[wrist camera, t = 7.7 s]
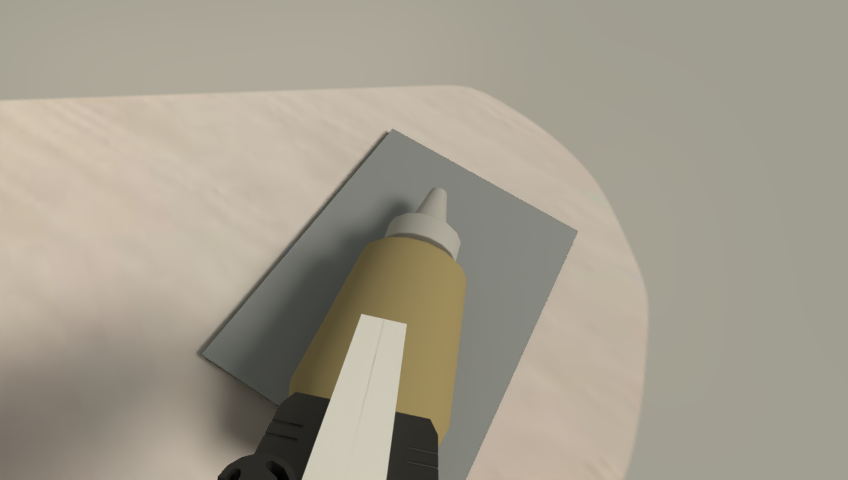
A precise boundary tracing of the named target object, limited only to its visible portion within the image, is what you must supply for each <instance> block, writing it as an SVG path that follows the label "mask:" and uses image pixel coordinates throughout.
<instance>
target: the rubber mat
mask: <svg viewBox="0 0 848 480" xmlns="http://www.w3.org/2000/svg"><path fill="white" fill-rule="evenodd" d="M437 187H438V188H441V189H443V190H445V191H446V193H447V213H446V223H447V224H448V225H449V226H450V227H451V228H452V229H453V230H454V231H455V232H456V233H457V234H458V237H459V239H460V242H461V243H460V247H459V251H458V255H457V259H456V262H457V263H458V264H459V265H460V266H461V267H462V269H463V272H464V274H465V276H466V279H467V284H466V293H465V301H464V309H463V317H462V326H461V334H460V342H459V350H458V359H457V367H456V375H455V383H454V392H453V400H452V408H451V416H450V425H449V429H448V431H447V433H446V434H445V436H444V438H443V440H442V442H441V443H440V445H439V447H438V476H439V480H466V478H467V476H468V473H469V471H470V469H471V467H472V465H473V462H474V460H475V458H476V456H477V454H478V451H479V449H480V447H481V445H482V443H483V440H484V438H485V436H486V434H487V431H488V429H489V427H490V425H491V423H492V420H493V418H494V416H495V414H496V412H497V409H498V407H499V405H500V403H501V400H502V398H503V396H504V394H505V392H506V389H507V387H508V385H509V383H510V381H511V378H512V376H513V374H514V372H515V370H516V367H517V365H518V363H519V361H520V358H521V356H522V354H523V352H524V350H525V347H526V345H527V343H528V341H529V339H530V336H531V334H532V332H533V330H534V327H535V325H536V323H537V321H538V319H539V316H540V314H541V312H542V310H543V308H544V305H545V303H546V301H547V299H548V296H549V294H550V292H551V290H552V288H553V285H554V283H555V281H556V279H557V277H558V274H559V272H560V270H561V268H562V266H563V263H564V261H565V259H566V257H567V254H568V252H569V250H570V248H571V246H572V243H573V241H574V239H575V237H576V235H577V232H578V231H577V230H575V229H573V228H571V227H570V226H568V225H566V224H564V223H562V222H561V221H559V220H557V219H555V218H553V217H551V216H550V215H548V214H546V213H544V212H542V211H541V210H539V209H537V208H535V207H533V206H532V205H530V204H528V203H526V202H524V201H523V200H521V199H519V198H517V197H515V196H514V195H512V194H510V193H508V192H506V191H504V190H503V189H501V188H499V187H497V186H495V185H494V184H492V183H490V182H488V181H486V180H485V179H483V178H481V177H479V176H477V175H476V174H474V173H472V172H470V171H468V170H466V169H465V168H463V167H461V166H459V165H457V164H456V163H454V162H452V161H450V160H448V159H447V158H445V157H443V156H441V155H439V154H438V153H436V152H434V151H432V150H430V149H429V148H427V147H425V146H423V145H421V144H419V143H418V142H416V141H414V140H412V139H410V138H409V137H407V136H405V135H403V134H401V133H400V132H398V131H396V130H394V129H392V130H391V131H390V132H389V134H388V135H387V136H386V137H385V138H384V140H383V141H382V142H381V143H380V144H379V145H378V147H377V148H376V149H375V150H374V151H373V153H372V154H371V155H370V156H369V157H368V158H367V160H366V161H365V162H364V163H363V164H362V165H361V167H360V168H359V169H358V170H357V171H356V173H355V174H354V175H353V176H352V177H351V178H350V180H349V181H348V182H347V183H346V184H345V186H344V187H343V188H342V189H341V190H340V191H339V193H338V194H337V195H336V196H335V197H334V199H333V200H332V201H331V202H330V203H329V204H328V206H327V207H326V208H325V209H324V210H323V211H322V213H321V214H320V215H319V216H318V217H317V219H316V220H315V221H314V222H313V223H312V224H311V226H310V227H309V228H308V229H307V230H306V232H305V233H304V234H303V235H302V236H301V237H300V239H299V240H298V241H297V242H296V243H295V245H294V246H293V247H292V248H291V249H290V250H289V252H288V253H287V254H286V255H285V256H284V257H283V259H282V260H281V261H280V262H279V263H278V265H277V266H276V267H275V268H274V269H273V270H272V272H271V273H270V274H269V275H268V276H267V278H266V279H265V280H264V281H263V282H262V283H261V285H260V286H259V287H258V288H257V289H256V291H255V292H254V293H253V294H252V295H251V296H250V298H249V299H248V300H247V301H246V302H245V303H244V305H243V306H242V307H241V308H240V309H239V311H238V312H237V313H236V314H235V315H234V316H233V318H232V319H231V320H230V321H229V322H228V324H227V325H226V326H225V327H224V328H223V329H222V331H221V332H220V333H219V334H218V335H217V337H216V338H215V339H214V340H213V341H212V342H211V344H210V345H209V346H208V347H207V348H206V349H205V351H204V352H203V353H202V354H201V355H203V356H204V357H206V358H207V359H209V360H210V361H212V362H213V363H215V364H216V365H218V366H219V367H221V368H222V369H224V370H225V371H227V372H228V373H230V374H231V375H233V376H234V377H236V378H237V379H239V380H240V381H242V382H243V383H245V384H246V385H248V386H249V387H251V388H252V389H254V390H255V391H257V392H258V393H260V394H261V395H263V396H264V397H266V398H267V399H269V400H270V401H272V402H273V403H275V404H276V405H278V406H280V404H281V403H282V402H283V401H285V400H286V399H287V398H288V396H289V387H290V380H291V378H292V376H293V374H294V373H295V371H296V369H297V367H298V365H299V364H300V362H301V360H302V358H303V356H304V355H305V353H306V351H307V349H308V347H309V346H310V344H311V342H312V340H313V338H314V337H315V335H316V333H317V331H318V330H319V328H320V326H321V324H322V322H323V321H324V319H325V317H326V315H327V313H328V312H329V310H330V308H331V306H332V304H333V303H334V301H335V299H336V297H337V295H338V294H339V292H340V290H341V288H342V286H343V285H344V283H345V281H346V279H347V278H348V276H349V274H350V272H351V270H352V269H353V267H354V265H355V263H356V261H357V260H358V258H359V256H360V254H361V252H362V251H363V250H364V249H365V247H366V246H367V245H368V244H369V243H370V242H373V241H377V240H380V239H383V238H384V237H385V234H386V232H387V229H388V227H389V224H390V223H391V222H392V220H393V219H394V218H395V217H397V216H400V215H403V214H406V213H415V212H416V211H417V209H418V208H419V206H420V205H421V203H422V202H423V201H424V199H425V198H426V196H427V195H428V193H429V192H430V190H431V189H432V188H437Z"/></svg>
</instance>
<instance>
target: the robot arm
mask: <svg viewBox="0 0 848 480" xmlns="http://www.w3.org/2000/svg"><path fill="white" fill-rule="evenodd" d="M406 327H407V324H405V323H400V322H396V321H391V320H387V319H382V318H378V317H373V316H369V315H364V314H361V317H360V319H359V322H358V325H357V328H356V330H355V333H354V336H353V339H352V341H351V344H350V347H349V350H348V353H347V355H346V358H345V361H344V364H343V366H342V369H341V372H340V375H339V378H338V380H337V383H336V386H335V389H334V391H333V394H332V397H331V399H328V398H323V397H318V396H313V395H309V394H304V393H299V392H295V393H294V394H292V395H291V396H290V397H289V398H287V399H286V400H285V401H283V402H282V403H281V404H280V406H279V408H278V410H277V412H276V414H275V416H274V418H273V420H272V422H271V423H270V425H269V427H268V429H267V431H266V434H265V435H264V437H263V439H262V440H261V442H260V444H259V446H258V448H257V450H256V452H255V454H253V455H249V456H245V457H241V458H239V459H238V460H236V461H234V462H233V463H231V464H229V465H228V466H227V467H226V468H225V469H224V470H223V471H222V473H221V474H220V475H219V476H218V480H439V476H438V434H437V432H436V430H435V428H434V426H433V424H432V422H431V419H428V418H423V417H419V416H414V415H409V414H405V413H400V412H395V410H396V402H397V395H398V387H399V380H400V372H401V365H402V357H403V349H404V342H405V334H406Z"/></svg>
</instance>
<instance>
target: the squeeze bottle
mask: <svg viewBox="0 0 848 480" xmlns="http://www.w3.org/2000/svg"><path fill="white" fill-rule="evenodd" d="M446 213H447V193H446V191H445V190H443V189H441V188H438V187H437V188H432V189H431V190H430V192H429V193H428V195H427V196H426V198H425V199H424V201H423V202H422V203H421V205H420V206H419V208H418V209H417V211H416V212H415V213H406V214H403V215H400V216H397V217H395V218H394V219H393V220H392V222H391V223H390V224H389V227H388V229H387V232H386V234H385V237H384V238H383V239H380V240H377V241H373V242H370V243H369V244H368V245H367V246H366V247H365V249H364V250H363V251H362V252H361V254H360V256H359V258H358V260H357V261H356V263H355V265H354V267H353V269H352V270H351V272H350V274H349V276H348V278H347V279H346V281H345V283H344V285H343V286H342V288H341V290H340V292H339V294H338V295H337V297H336V299H335V301H334V303H333V304H332V306H331V308H330V310H329V312H328V313H327V315H326V317H325V319H324V321H323V322H322V324H321V326H320V328H319V330H318V331H317V333H316V335H315V337H314V338H313V340H312V342H311V344H310V346H309V347H308V349H307V351H306V353H305V355H304V356H303V358H302V360H301V362H300V364H299V365H298V367H297V369H296V371H295V373H294V374H293V376H292V378H291V380H290V387H289V396H288V398H289V397H290V396H291V395H292V394H294V393H295V392H299V393H304V394H309V395H313V396H318V397H323V398H328V399H331V397H332V394H333V391H334V389H335V386H336V383H337V380H338V378H339V375H340V372H341V369H342V366H343V364H344V361H345V358H346V355H347V353H348V350H349V347H350V344H351V341H352V339H353V336H354V333H355V330H356V328H357V325H358V322H359V319H360V317H361V314H364V315H369V316H373V317H378V318H382V319H387V320H391V321H396V322H400V323H405V324H407V327H406V334H405V342H404V349H403V357H402V365H401V372H400V380H399V387H398V395H397V402H396V410H395V412H400V413H405V414H409V415H414V416H419V417H423V418H428V419H431V422H432V424H433V426H434V428H435V430H436V432H437V434H438V447H439V445H440V443H441V442H442V440H443V438H444V436H445V434H446V433H447V431H448V429H449V425H450V416H451V408H452V400H453V392H454V383H455V375H456V367H457V359H458V350H459V342H460V334H461V326H462V317H463V309H464V301H465V293H466V284H467V279H466V276H465V274H464V272H463V269H462V267H461V266H460V265H459V264H458V263H457V262H456V259H457V255H458V251H459V247H460V243H461V242H460V239H459V237H458V234H457V233H456V232H455V231H454V230H453V229H452V228H451V227H450V226H449V225H448V224H447V223H446Z"/></svg>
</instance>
